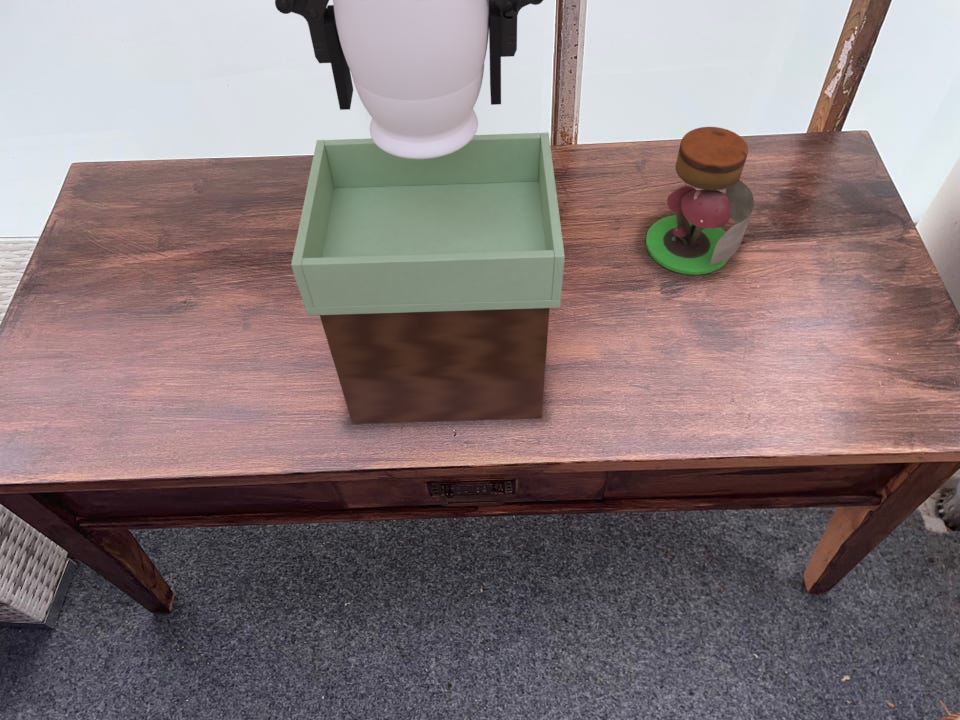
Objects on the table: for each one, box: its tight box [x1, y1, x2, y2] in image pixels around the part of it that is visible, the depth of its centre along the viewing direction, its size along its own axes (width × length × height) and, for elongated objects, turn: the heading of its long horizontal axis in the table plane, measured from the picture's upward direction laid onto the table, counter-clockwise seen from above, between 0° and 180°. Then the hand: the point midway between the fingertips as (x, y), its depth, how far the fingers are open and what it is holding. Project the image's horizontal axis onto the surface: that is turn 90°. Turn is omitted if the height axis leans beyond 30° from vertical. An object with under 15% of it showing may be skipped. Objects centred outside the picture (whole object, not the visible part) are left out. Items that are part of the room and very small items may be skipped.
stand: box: [319, 308, 551, 425], centre depth 74 cm, size 20×15×18 cm
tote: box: [290, 132, 566, 316], centre depth 64 cm, size 22×17×6 cm
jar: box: [332, 0, 489, 159], centre depth 51 cm, size 11×10×15 cm
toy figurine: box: [645, 126, 755, 276], centre depth 85 cm, size 12×13×15 cm
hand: (421, 97), depth 55 cm, fingers closed on jar, 11 cm apart
